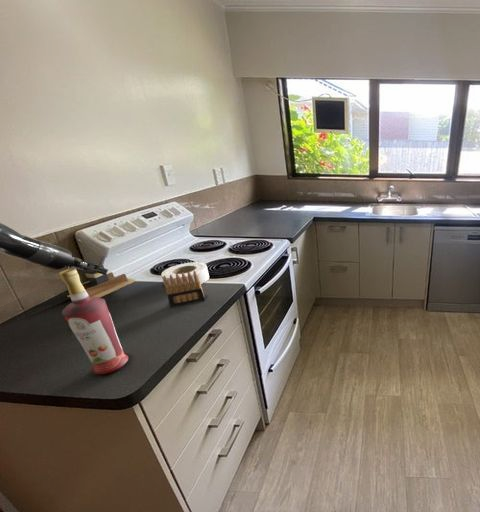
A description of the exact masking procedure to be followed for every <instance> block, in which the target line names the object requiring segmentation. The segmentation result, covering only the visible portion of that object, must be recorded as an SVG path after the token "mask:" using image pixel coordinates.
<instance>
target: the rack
mask: <svg viewBox="0 0 480 512" xmlns="http://www.w3.org/2000/svg"><path fill="white" fill-rule="evenodd" d="M107 276H108V278H109V280H107V281H105V282H103V283H100V284H98V285H95V286H93V287H91V285H90V282H89V280H87V281H85V282H83V283H82V282H81V284H82V285H83V287H84V289H85V290H86V292H87V293H88V295H89V297H97V298H102V297H105V296H106V295H109V294H111V293H113V292H115V291H118V290H120V289H122V288H124V287H126V286H128V285H130V284H132V283H135V279H130V278H128V277H127V275H126V273H122V274H119V275H117V276H115V275H114V273H113V272H111V271H110V272H107ZM66 298H69V300H71V297H70V294H69V295H67V296H66Z"/></svg>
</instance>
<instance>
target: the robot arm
mask: <svg viewBox="0 0 480 512" xmlns="http://www.w3.org/2000/svg"><path fill="white" fill-rule="evenodd" d="M0 253H2V254H3V255H7V256H9V257H13V258H17V259H20V260H23V261H26V262H28V263H31V264H33V265H38V266H42V267H44V268H48V269H51V270H55V271H58V270H62V269H64V268H65V269H76V270H77V271H79V272H83V273H85V271H87V270H89V271H92V272H97V273H100V274H103V275H106V273H107V274H108V271H109V269H108V268H105V267H104V268H102V267H100V265H101V264H97V263H94V262H91V261H89V260H85V259H81V258H79V257H73V253H72V251H71V250H70V249H66V248H64V247H61V246H58V245H55V244H53V243H50V242H47V241H43V240H40V239H36V238H33V237H30V236H28V235H25V234H21V233H20V232H18V231H17V230H15V229H14V228H11V227H9V226H8V225H6V224H4V223H2V222H0ZM92 266H94V267H93V269H92Z"/></svg>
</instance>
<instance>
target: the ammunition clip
mask: <svg viewBox="0 0 480 512" xmlns="http://www.w3.org/2000/svg"><path fill="white" fill-rule="evenodd" d="M193 274H194V280H195V283H194V281H193V278H192V276H191V274H190V272H188V279H189V283H188V281H187V279H186V276H185V274H184V273H182V279H183V284H182V282H181V279H180V277H179V275H178V274H176V280H177V285H176V283H175V280H174V278H173V276H172V275H170V282H171V286H170V284H169V282H168V279H167V278H166V276H164V277H163V279H164V282H163V285H164V284H165V285H164V289H165V291H166V296H167V299H168V304H169V308H176V307H182V306H184V305H185V306H186V305H190V304H195V303H199V302H200V303H201V302H204V301H206V295H205V293H204V290H203V287H202V284H201V283H200V280H199V278H198V275H197V273H196V272H195V271H194V272H193ZM163 279H162V280H163ZM183 285H184V286H183ZM189 285H190V286H189ZM195 285H196V286H195ZM177 286H178V287H177ZM171 287H172V289H171ZM178 289H179V290H178Z"/></svg>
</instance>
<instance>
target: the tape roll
mask: <svg viewBox="0 0 480 512" xmlns="http://www.w3.org/2000/svg"><path fill="white" fill-rule="evenodd" d="M194 271H195V272H196V273H197V275H198V278H199V280H200V283H201V285H203V284H204V283H206V282H208V281H209V279H210V274H209V269H208V266H207V263H204V262H200V261H199V262H198V261H193V262H184V263H180V264H176V265H173V266H170V267H168V268H166V269H164V270H163V271H162V272H161V274H160V275H161V279H162V282H163V285H164V286H165V284H164V279H163V277H164V276H166V278H167V279H168V282H169V284H170V286H171V282H170V275H172V276H173V278H174V280H175V283H176V285H177V280H176V274H178V275H179V277H180V279H181V282H182V284H183V279H182V273H184V274H185V276H186V279H187V281H188V283H189V279H188V272H190V274H191V276H192V278H193V281H194V283H195V280H194V274H193V272H194ZM183 286H184V285H183ZM189 286H190V285H189ZM195 286H196V285H195ZM177 287H178V286H177ZM171 289H172V287H171ZM178 290H179V289H178Z"/></svg>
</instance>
